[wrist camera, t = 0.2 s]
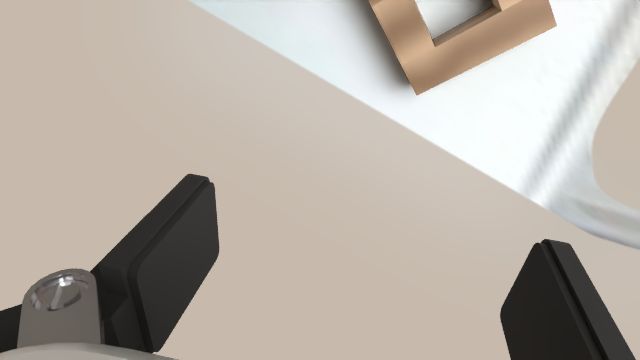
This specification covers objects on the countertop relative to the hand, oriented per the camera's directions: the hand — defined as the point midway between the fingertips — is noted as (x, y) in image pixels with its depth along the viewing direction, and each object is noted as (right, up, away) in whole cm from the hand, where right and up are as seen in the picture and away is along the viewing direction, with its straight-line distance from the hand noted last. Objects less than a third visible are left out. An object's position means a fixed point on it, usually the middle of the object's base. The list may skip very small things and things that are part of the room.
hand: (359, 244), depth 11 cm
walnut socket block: (+12, +21, +28) cm, 37 cm away
